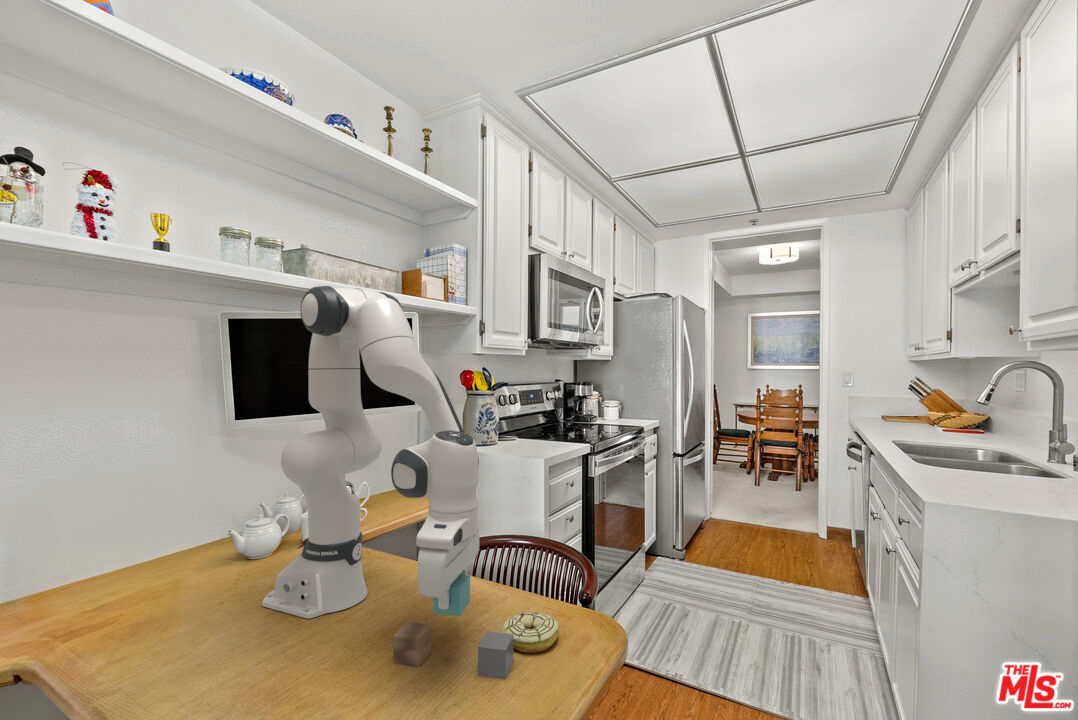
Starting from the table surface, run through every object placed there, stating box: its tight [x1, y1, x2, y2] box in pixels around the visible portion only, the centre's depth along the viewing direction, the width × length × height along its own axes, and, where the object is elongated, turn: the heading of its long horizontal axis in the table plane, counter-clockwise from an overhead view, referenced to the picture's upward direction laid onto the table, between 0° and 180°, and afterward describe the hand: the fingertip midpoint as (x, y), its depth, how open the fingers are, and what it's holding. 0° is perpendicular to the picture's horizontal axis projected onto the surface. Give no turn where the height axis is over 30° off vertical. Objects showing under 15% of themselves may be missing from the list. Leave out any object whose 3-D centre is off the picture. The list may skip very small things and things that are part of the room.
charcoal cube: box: [477, 630, 514, 680], centre depth 85 cm, size 5×5×5 cm
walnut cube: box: [392, 621, 432, 668], centre depth 89 cm, size 5×5×5 cm
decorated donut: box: [502, 611, 560, 654], centre depth 94 cm, size 10×11×4 cm
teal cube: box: [432, 574, 471, 617], centre depth 87 cm, size 5×5×5 cm
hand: (451, 598), depth 87 cm, fingers closed on teal cube, 5 cm apart
